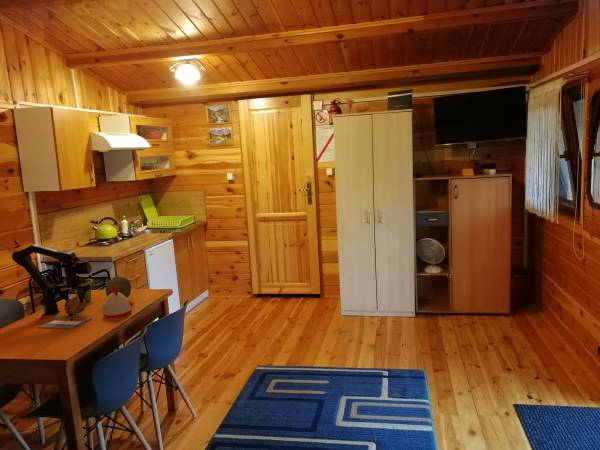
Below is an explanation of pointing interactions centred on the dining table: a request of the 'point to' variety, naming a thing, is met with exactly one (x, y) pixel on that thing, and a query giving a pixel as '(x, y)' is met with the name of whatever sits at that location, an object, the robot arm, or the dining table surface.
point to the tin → (74, 305)
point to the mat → (65, 323)
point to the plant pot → (88, 293)
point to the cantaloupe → (119, 286)
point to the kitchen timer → (116, 305)
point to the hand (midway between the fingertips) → (75, 302)
